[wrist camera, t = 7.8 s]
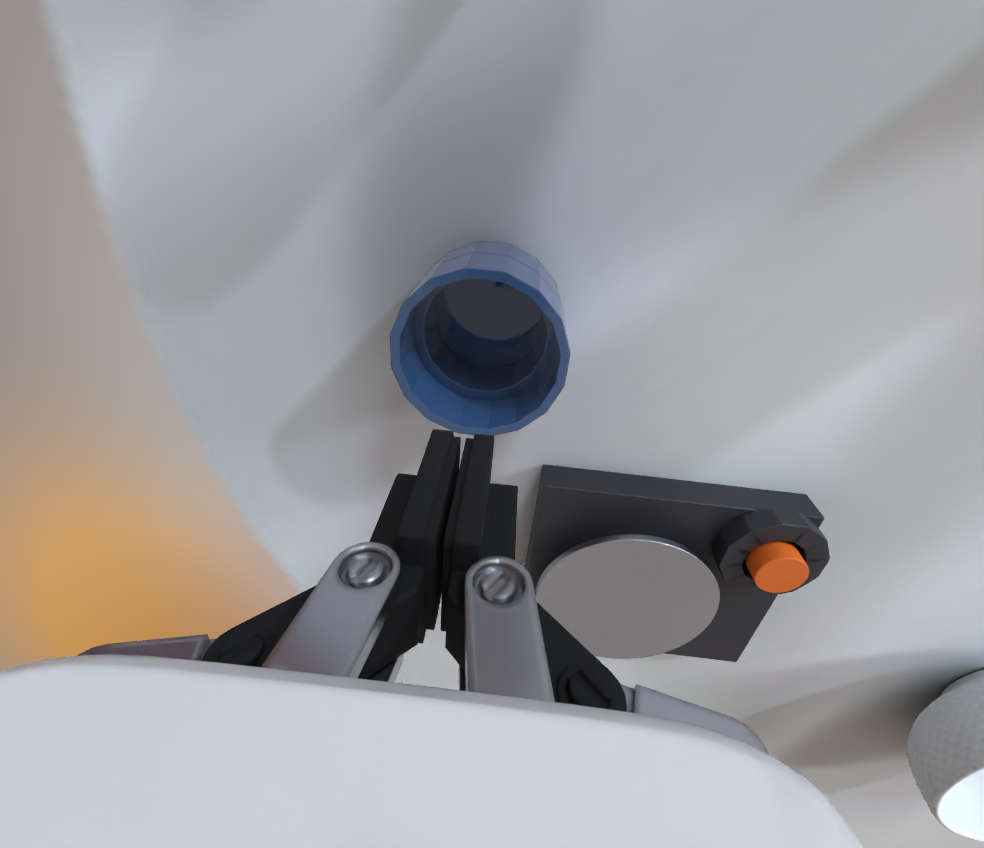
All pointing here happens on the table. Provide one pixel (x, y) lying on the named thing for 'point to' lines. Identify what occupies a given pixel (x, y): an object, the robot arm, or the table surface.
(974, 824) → the cereal bowl
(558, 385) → the blue cup
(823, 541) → the scale
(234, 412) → the table surface
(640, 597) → the pan
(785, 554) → the button
